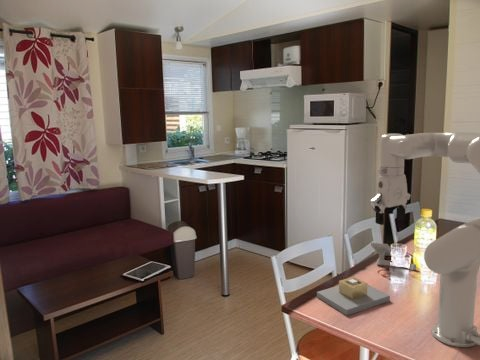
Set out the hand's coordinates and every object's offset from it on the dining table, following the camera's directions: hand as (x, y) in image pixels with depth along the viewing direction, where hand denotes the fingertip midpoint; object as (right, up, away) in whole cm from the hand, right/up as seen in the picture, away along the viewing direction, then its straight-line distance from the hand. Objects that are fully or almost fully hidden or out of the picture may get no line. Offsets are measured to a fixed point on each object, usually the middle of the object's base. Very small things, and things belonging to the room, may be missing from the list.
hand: (390, 221), depth 139 cm
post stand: (-10, -29, +11) cm, 33 cm away
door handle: (+18, -23, +43) cm, 52 cm away
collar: (-10, -27, +11) cm, 31 cm away
